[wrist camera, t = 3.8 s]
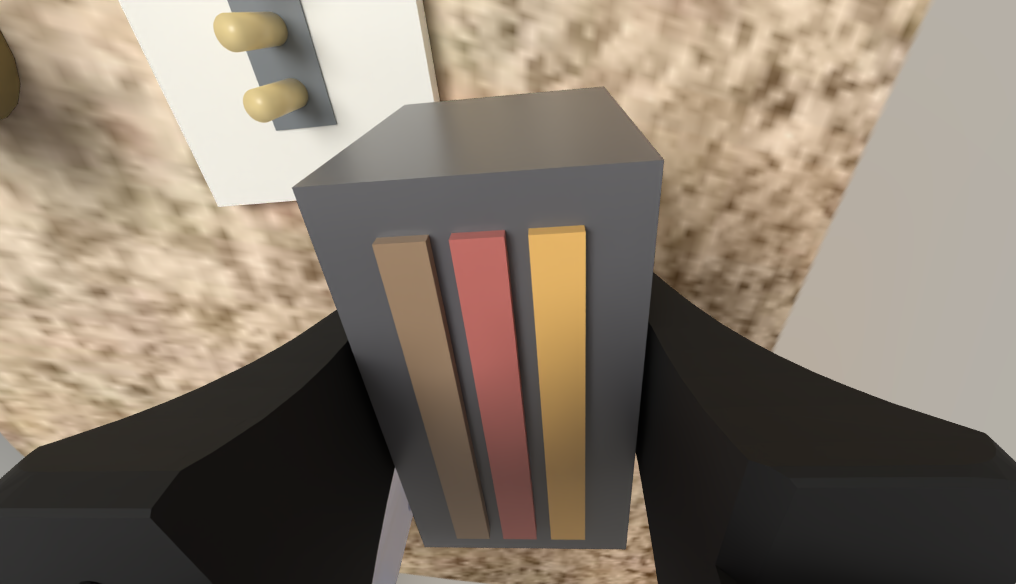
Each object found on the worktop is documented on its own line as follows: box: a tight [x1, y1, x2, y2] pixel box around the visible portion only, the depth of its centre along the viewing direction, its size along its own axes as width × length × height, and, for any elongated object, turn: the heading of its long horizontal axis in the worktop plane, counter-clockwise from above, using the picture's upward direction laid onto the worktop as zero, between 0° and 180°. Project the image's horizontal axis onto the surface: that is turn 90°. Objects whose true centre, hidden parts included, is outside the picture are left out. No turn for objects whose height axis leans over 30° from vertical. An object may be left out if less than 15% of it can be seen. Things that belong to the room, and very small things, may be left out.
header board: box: [118, 0, 440, 207], centre depth 14 cm, size 12×10×4 cm
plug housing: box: [292, 87, 664, 549], centre depth 10 cm, size 8×4×6 cm, turn 5°
